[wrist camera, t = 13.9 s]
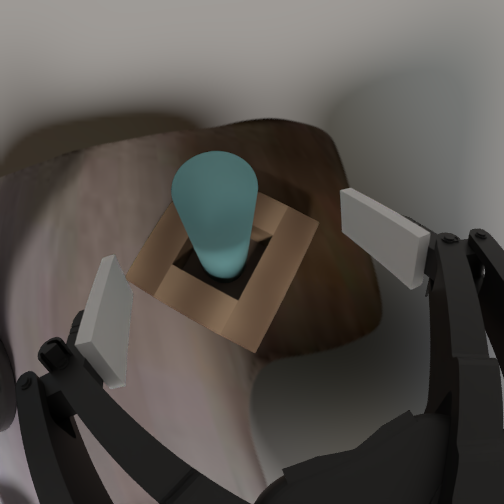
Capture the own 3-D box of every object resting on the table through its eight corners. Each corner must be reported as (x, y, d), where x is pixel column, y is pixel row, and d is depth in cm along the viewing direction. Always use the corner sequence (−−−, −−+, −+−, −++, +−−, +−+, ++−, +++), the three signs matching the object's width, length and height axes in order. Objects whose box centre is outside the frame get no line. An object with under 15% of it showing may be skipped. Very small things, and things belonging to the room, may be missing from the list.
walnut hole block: (139, 286, 26) (124, 278, 22) (202, 184, 29) (198, 163, 25) (252, 350, 25) (254, 353, 21) (308, 237, 28) (319, 222, 24)
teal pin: (194, 269, 26) (155, 203, 13) (216, 233, 27) (200, 140, 14) (233, 290, 26) (231, 242, 12) (253, 252, 27) (272, 171, 13)
